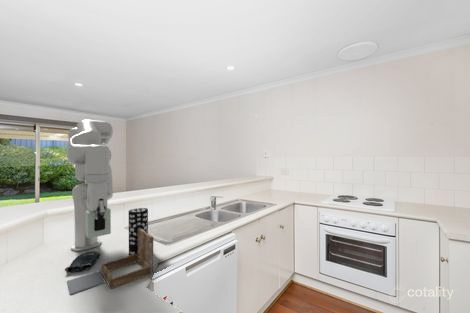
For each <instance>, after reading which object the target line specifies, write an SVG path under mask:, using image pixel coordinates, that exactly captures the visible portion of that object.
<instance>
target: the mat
mask: <svg viewBox="0 0 470 313" xmlns="http://www.w3.org/2000/svg"><path fill="white" fill-rule="evenodd" d="M66 283H67V289H68V293H69V296H72V295H74V294H77V293H81V292H84V291H86V290H89V289H92V288H94V287H95V288H96V287H98V286H100V285H104V284H106V280H105V279H104V276H103V275H102V272H101V271H100V270H97V271H94V272H91V273H88V274H85V275H81V276H79V277H75V278H72V279H69V280H67V281H66Z"/></svg>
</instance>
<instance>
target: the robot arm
mask: <svg viewBox="0 0 470 313" xmlns="http://www.w3.org/2000/svg"><path fill="white" fill-rule="evenodd" d="M113 133H114V130H113V126H112V124H111V123H110V122H109V121H107V120H105V121H104V120H95V119H83V120H81V121H78V123H77V124H76V127H73V128H70V129H69V130H68V132H67V137H68V138H67V139H68V141H67V143H66V157H67V160H68V162H69V163H70V164H71V165H74V171H75V172H74V174H75V175H74V176H75V178H76V180H78V181H80V182H84V183H81V184H76V185H75V186H73V188H72V189H71V194H72V196H71V197H72V202H73V207H74V208H73V209H74V243H73V244H71V246H70V249H71V250H72V251H74V252H81V251H82V252H83V251H87V250H91V249H94V248H96V247H99V246H100V245H101V244H102V240H101V239H100V238H98V237H99V236H98V237H94V238H89V239H88V238H87V236H86V235H85V210H90V211H91V212H94V211H95V219H96V220H94V230H95V231H99V230H104V229H105V210H106V209H107V207H108V200H111V199H112V198H113V194H114V187H113V186H114V185H113V184H114V183H113V173H112V172H113V170H112V167H111V164H110V160H111V158H112V150H111V149H110V147H109V146H108V145H107V144H108V143H110V140H111V139H112V137H113ZM97 209H100V210H98V211H97ZM97 212H99V213H97Z"/></svg>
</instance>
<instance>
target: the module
mask: <svg viewBox="0 0 470 313" xmlns="http://www.w3.org/2000/svg"><path fill="white" fill-rule="evenodd" d="M98 210H100V209H97V211H98ZM97 213H99V212H97ZM111 213H112V212H111V209H110V208H109V207H108V206H107V209H106V210H105V229H104V230H99V231H95V230H94V220H96V219H95V211H94V212H91V211H90V210H85V235H86V236H87V238H88V239H89V238H94V237H102V236H106V235H111V233H112V231H111V230H112V229H111V228H112V226H111V224H112V222H111V219H112V218H111V217H112V216H111Z"/></svg>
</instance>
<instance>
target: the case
mask: <svg viewBox="0 0 470 313" xmlns="http://www.w3.org/2000/svg"><path fill="white" fill-rule="evenodd" d="M134 263H137V264H138V265H139V266H140V267H141V268H139V269H135V270H133V271H130V272H127V273H124V274H121V275H119V276H116V277H113V276H112V274H111V272H110V271H111V270H115V269H118V268H121V267H125V266H127V265H131V264H134ZM154 269H155V268H154V236H152V235H151V234H150V233H149V232H148V233H147V232H146V231H144V230H143V229H141V228H138V254H134V255H131V256H129V255H128V256H125V257H121V258H118V259H115V260H111V261H107V262H105V263H102V264H101V274H103V275H102V276H103V278H105V279H104V280H105V282H107V284H108V286H109V288H110V289H111V290H112V289H115V288H118V287H121V286H123V285H126V284H128V283H131V282H135V281H136V280H139V279H142V278H144V277H148V276H150V277H151V276H153V274H154V271H155V270H154Z"/></svg>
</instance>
